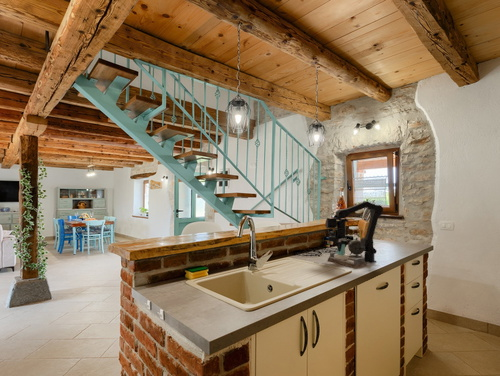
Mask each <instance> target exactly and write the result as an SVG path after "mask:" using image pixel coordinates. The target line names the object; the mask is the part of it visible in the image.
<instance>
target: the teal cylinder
mask: <svg viewBox="0 0 500 376" xmlns="http://www.w3.org/2000/svg"><path fill="white" fill-rule="evenodd" d="M336 252H337V254H334V258H337V259H341V260H346V259H348V257H349V254H347V253H346V247H345V244H342V245H341V250H340V251H338V248H337V247H336Z"/></svg>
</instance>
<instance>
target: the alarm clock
mask: <svg viewBox="0 0 500 376" xmlns="http://www.w3.org/2000/svg"><path fill="white" fill-rule="evenodd" d="M356 235H357V237H356ZM353 237H354V240H349V242H348V244H347V249H348V251H349V252H350V253H349V255H350V256H351V255H355V256H356V257H358V256H359V255H360V256H362V257H363V255H362V253H363V254H364V251H363V249H362V247H361V244H360V243H361V239H359V238H360V235H359V234H358V233H356V234H354V236H353Z"/></svg>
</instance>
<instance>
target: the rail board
mask: <svg viewBox="0 0 500 376" xmlns="http://www.w3.org/2000/svg"><path fill="white" fill-rule="evenodd" d="M334 254H337V251H333V252H332V251H331V252H329V256H328V258H327V261H329V262H332V263H335V264H339V265H342V266H346V267H349V268H353V269H357V268H361V267H367V266H368V265H367V263H368V262H366V261H364V257H358V258H357V257H356V258H353V257H349V256H348V259H346V260H341V259H337V258H334Z"/></svg>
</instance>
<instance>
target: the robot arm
mask: <svg viewBox="0 0 500 376" xmlns="http://www.w3.org/2000/svg"><path fill="white" fill-rule="evenodd" d="M363 209H367V210H369V214H370V218H369V222H368V226H367V230H366V234H365V237H361V239H360V241H361V243H360V244H361V247H362V249H363V252H364V255H363V256H364V257H363V258H364V261H365V263H369V264H370V263H371V264H372V263H377V260H375V254H377V249H376V248H375V247H374V235H375V231H376V227H377V224H378V220H379V218H380V217H381V216H382V214H383V212H384V207H383V206H382V205H380V204H374V203H372V202H370V201H368V200H367V201H366V200H365V201H361V202H360V203H357V204H355V205H354V204H353V206H350V207H346V208H341V209H337V210H336V212H335V214H334V216H332V217H333V218H332V217H331V218H329V217H326V220H325V223H324V224H325V228H326V229H335V228H336V229H335V230H334V231H333V230H330V231H328V236H329V237H328V238H327V239H328V241H329V242H332V243H335V246H336V249H337V248H338V251H340V250H341V245H342V244H345V248H346V247H347V246H348V244H349V242H350V241H352V240H354V239H355V237H354V236H353V235H348V234H346V233H347V232H348V229H346V228H347V227H346V224H347V223H349V221H350V220H348V217H349V216H350V215H351V214H354V213H356V212H358V211H360V210H363Z"/></svg>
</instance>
